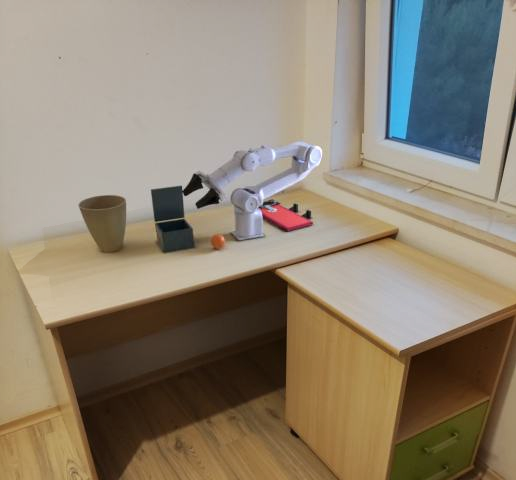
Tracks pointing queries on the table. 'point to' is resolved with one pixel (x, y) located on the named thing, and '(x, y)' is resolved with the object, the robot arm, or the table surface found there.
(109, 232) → the plant pot
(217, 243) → the orange ball
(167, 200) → the bin lid
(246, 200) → the robot arm
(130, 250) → the table surface
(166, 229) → the bin
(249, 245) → the table surface
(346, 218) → the table surface
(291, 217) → the red board with handle
